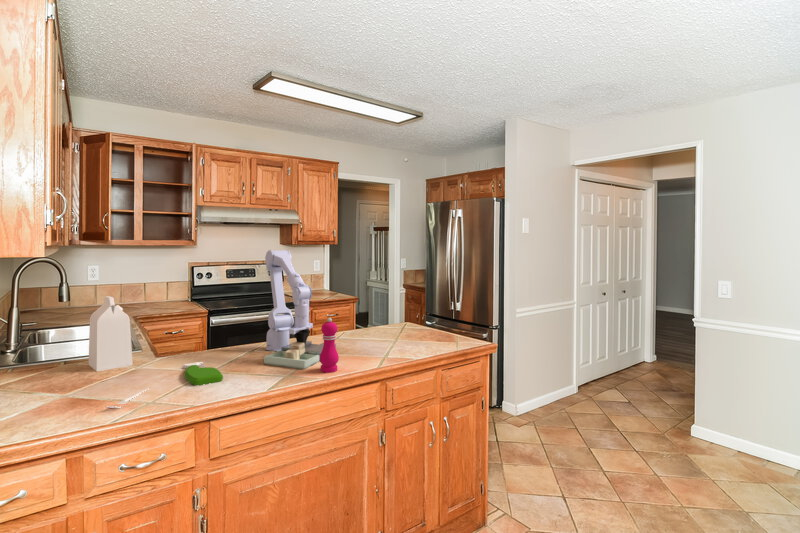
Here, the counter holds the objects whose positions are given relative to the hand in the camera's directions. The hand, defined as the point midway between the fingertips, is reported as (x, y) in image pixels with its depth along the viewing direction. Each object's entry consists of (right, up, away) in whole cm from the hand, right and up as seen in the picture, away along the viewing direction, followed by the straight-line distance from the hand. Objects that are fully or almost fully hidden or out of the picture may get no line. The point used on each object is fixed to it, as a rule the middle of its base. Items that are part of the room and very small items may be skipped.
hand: (301, 348), depth 181 cm
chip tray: (-2, -5, -6) cm, 8 cm away
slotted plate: (+2, -4, +6) cm, 7 cm away
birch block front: (-2, -1, -5) cm, 5 cm away
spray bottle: (-31, -6, -23) cm, 39 cm away
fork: (-41, -7, -48) cm, 63 cm away
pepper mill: (+14, -6, -15) cm, 21 cm away
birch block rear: (-1, -2, -3) cm, 3 cm away
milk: (-69, -4, -14) cm, 71 cm away
